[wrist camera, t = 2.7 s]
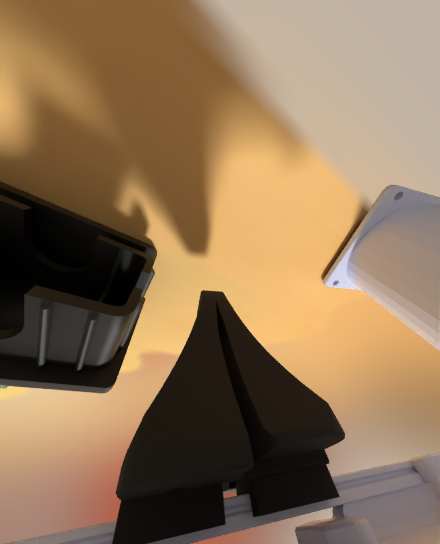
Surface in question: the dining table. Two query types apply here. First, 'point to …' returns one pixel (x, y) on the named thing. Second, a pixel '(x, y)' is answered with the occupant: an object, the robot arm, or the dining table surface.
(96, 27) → the dining table surface
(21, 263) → the black plastic holder
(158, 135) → the dining table surface
